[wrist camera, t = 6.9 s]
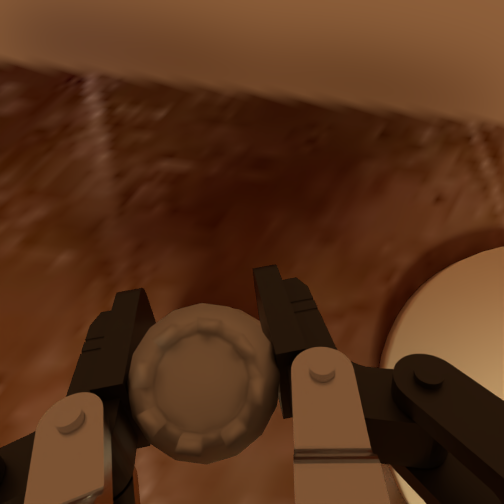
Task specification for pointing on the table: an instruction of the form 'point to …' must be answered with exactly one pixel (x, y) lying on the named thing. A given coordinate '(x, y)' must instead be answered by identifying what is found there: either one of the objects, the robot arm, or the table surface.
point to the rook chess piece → (203, 383)
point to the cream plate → (455, 327)
